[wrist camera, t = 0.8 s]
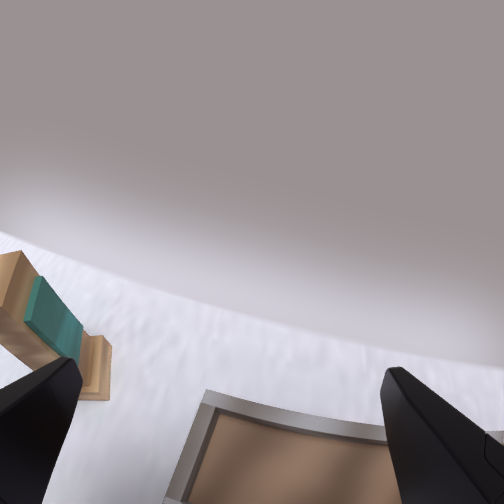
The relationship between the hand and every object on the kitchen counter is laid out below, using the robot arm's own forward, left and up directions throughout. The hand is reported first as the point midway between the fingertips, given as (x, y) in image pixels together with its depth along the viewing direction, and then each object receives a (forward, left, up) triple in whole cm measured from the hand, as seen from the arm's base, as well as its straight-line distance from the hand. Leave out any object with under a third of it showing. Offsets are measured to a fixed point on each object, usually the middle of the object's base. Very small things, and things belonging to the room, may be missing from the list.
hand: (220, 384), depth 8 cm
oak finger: (-5, +14, -15) cm, 21 cm away
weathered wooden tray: (+2, -7, -15) cm, 17 cm away
